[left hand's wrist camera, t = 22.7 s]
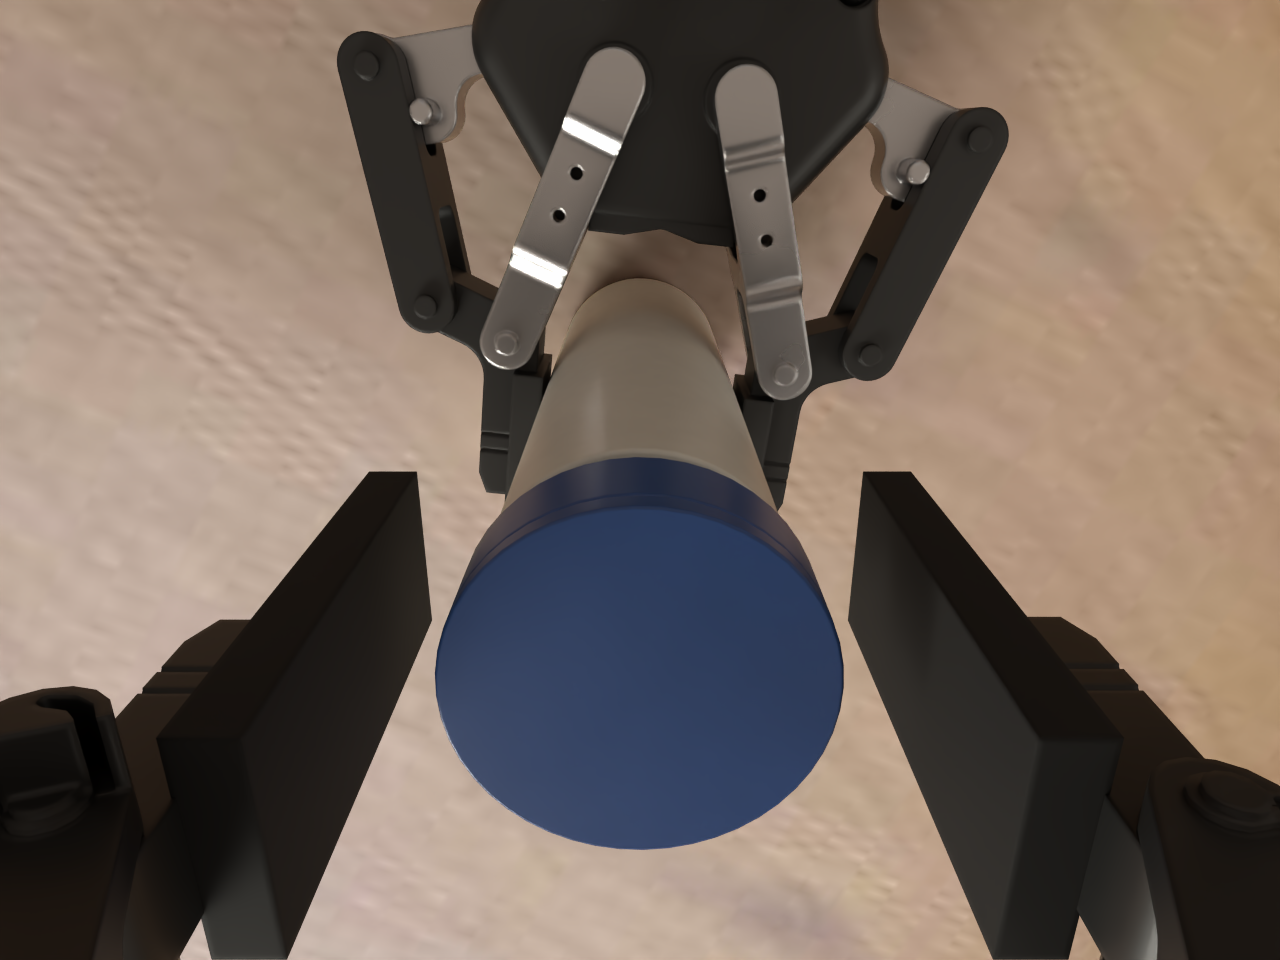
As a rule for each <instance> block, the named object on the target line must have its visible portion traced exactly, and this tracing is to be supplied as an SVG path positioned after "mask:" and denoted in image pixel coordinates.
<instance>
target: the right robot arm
mask: <svg viewBox="0 0 1280 960" xmlns="http://www.w3.org/2000/svg"><path fill="white" fill-rule="evenodd" d="M337 67H338V72H339V76H340V80H341V83H342V87H343V91H344V95H345V99H346V103H347V107H348V111H349V115H350V119H351V123H352V127H353V130H354V134H355V138H356V142H357V146H358V150H359V154H360V158H361V162H362V166H363V170H364V174H365V177H366V181H367V185H368V189H369V193H370V197H371V201H372V205H373V209H374V213H375V217H376V221H377V224H378V228H379V232H380V236H381V240H382V244H383V248H384V252H385V256H386V260H387V264H388V268H389V272H390V275H391V279H392V283H393V287H394V291H395V295H396V299H397V303H398V307H399V311H400V313H401V316H402V318H403V319H404V321H405V322H406V323H407V324H408V325H409V326H410V327H411V328H413V329H414V330H417V331H419V332H422V333H435V332H439V333H441V334H443V335H445V336H447V337H449V338H452V339H454V340H456V341H458V342H460V343H462V344H464V345H466V346H467V347H469V348H470V349H471V350H472V351H473V352H474V353H475V354H476V355H477V357H478V358H479V360H480V362H481V364H482V367H483V372H484V385H483V405H482V425H481V446H480V447H481V450H480V466H479V473H480V476H481V479H482V481H483V484H484V487H485V489H486V492H489V493H498V494H505V501H506V498H507V495H508V492H509V490H510V487H511V484H512V482H513V479H514V476H515V473H516V471H517V468H518V465H519V462H520V460H521V457H522V454H523V451H524V449H525V446H526V443H527V441H528V438H529V435H530V432H531V430H532V427H533V424H534V421H535V419H536V416H537V413H538V410H539V408H540V405H541V402H542V399H543V397H544V394H545V391H546V389H547V386H548V383H549V380H550V378H551V365H552V354H544V343H545V330H546V324H547V322H548V320H549V317H550V315H551V313H552V311H553V308H554V306H555V304H556V301H557V299H558V297H559V294H560V292H561V290H562V287H563V285H564V283H565V280H566V278H567V276H568V273H569V271H570V269H571V267H572V264H573V262H574V260H575V258H576V255H577V253H578V251H579V248H580V246H581V244H582V241H583V239H584V237H585V234H586V232H587V230H589V231H597V232H606V233H614V234H623V235H625V234H631V233H638V232H644V231H651V230H657V229H663V230H666V231H669V232H671V233H674V234H676V235H679V236H681V237H683V238H686V239H688V240H691V241H693V242H696V243H699V244H708V245H716V246H725V247H726V249H727V255H728V260H729V266H730V271H731V276H732V280H733V283H734V288H735V292H736V298H737V304H738V310H739V315H740V321H741V327H742V333H743V339H744V344H745V350H746V355H747V364H746V370H745V375H739V374H735V378H734V384H733V390H734V393H735V396H736V399H737V401H738V404H739V407H740V410H741V412H742V415H743V418H744V421H745V424H746V426H747V429H748V432H749V435H750V437H751V440H752V443H753V446H754V448H755V451H756V454H757V457H758V459H759V462H760V465H761V468H762V470H763V473H764V476H765V479H766V481H767V484H768V487H769V490H770V492H771V495H772V498H773V501H774V503H775V506H776V509H777V511H778V510H779V508H780V507H781V505H782V504H783V499H784V494H785V488H786V481H787V478H788V472H789V465H790V462H791V457H792V451H793V446H794V441H795V435H796V430H797V425H798V419H799V414H800V410H801V407H802V404H803V402H804V401H805V399H806V398H807V396H808V395H809V394H810V393H811V392H812V391H814V390H815V389H817V388H818V387H820V386H822V385H825V384H828V383H833V382H837V381H841V380H846V379H850V378H854V377H855V378H857V379H859V380H863V381H872V380H876V379H879V378H881V377H883V376H884V375H886V374H887V373H888V372H889V371H890V370H891V369H892V367H893V366H894V364H895V362H896V360H897V358H898V356H899V354H900V352H901V350H902V348H903V346H904V345H905V343H906V341H907V339H908V337H909V335H910V333H911V331H912V329H913V327H914V325H915V323H916V321H917V319H918V317H919V316H920V314H921V312H922V310H923V308H924V306H925V304H926V302H927V300H928V298H929V296H930V294H931V292H932V290H933V288H934V287H935V285H936V283H937V281H938V279H939V277H940V275H941V273H942V271H943V269H944V267H945V265H946V263H947V261H948V259H949V258H950V256H951V254H952V252H953V250H954V248H955V246H956V244H957V242H958V240H959V238H960V236H961V234H962V232H963V230H964V229H965V227H966V225H967V223H968V221H969V219H970V217H971V215H972V213H973V211H974V209H975V207H976V205H977V203H978V201H979V200H980V198H981V196H982V194H983V192H984V190H985V188H986V186H987V184H988V182H989V180H990V178H991V176H992V174H993V172H994V171H995V169H996V167H997V165H998V163H999V161H1000V159H1001V157H1002V155H1003V153H1004V151H1005V149H1006V147H1007V143H1008V137H1009V132H1008V126H1007V123H1006V121H1005V119H1004V118H1003V116H1002V115H1001V114H1000V113H999V112H997V111H996V110H994V109H991V108H987V107H977V108H964V109H957V108H954V107H952V106H950V105H948V104H945V103H943V102H941V101H939V100H937V99H934V98H932V97H930V96H928V95H926V94H923V93H921V92H919V91H917V90H915V89H913V88H910V87H908V86H906V85H904V84H902V83H899V82H897V81H895V80H893V79H891V78H888V76H889V67H888V59H887V55H886V51H885V48H884V45H883V42H882V38H881V34H880V29H879V20H878V0H481V1H480V3H479V5H478V7H477V10H476V12H475V15H474V19H473V24H472V25H467V26H461V27H455V28H450V29H444V30H438V31H432V32H427V33H421V34H415V35H409V36H404V37H398V38H391V37H388V36H385V35H383V34H378V33H373V32H369V31H360V32H356V33H353V34H351V35H350V36H348V37H347V38H346V39H345V40H344V41H343V43H342V44H341V46H340V48H339V51H338V55H337ZM481 78H485V80H486V82H487V84H488V85H489V87H490V89H491V91H492V92H493V94H494V96H495V98H496V99H497V101H498V103H499V105H500V106H501V108H502V110H503V112H504V113H505V115H506V117H507V119H508V120H509V122H510V124H511V126H512V127H513V129H514V131H515V132H516V134H517V136H518V138H519V139H520V141H521V143H522V145H523V146H524V148H525V150H526V152H527V153H528V155H529V157H530V159H531V160H532V162H533V164H534V166H535V167H536V169H537V171H538V173H539V174H540V176H541V180H540V183H539V185H538V188H537V190H536V193H535V195H534V198H533V200H532V202H531V205H530V207H529V210H528V212H527V215H526V217H525V220H524V222H523V225H522V227H521V230H520V232H519V235H518V237H517V240H516V242H515V245H514V248H513V250H512V254H511V258H510V262H509V264H508V267H507V270H506V272H505V274H504V277H503V279H502V282H501V284H500V287H499V288H497V287H495V286H493V285H491V284H489V283H487V282H485V281H483V280H481V279H479V278H477V277H475V276H473V275H471V271H470V266H469V262H468V257H467V253H466V248H465V244H464V239H463V235H462V230H461V226H460V221H459V217H458V212H457V208H456V203H455V199H454V194H453V190H452V185H451V181H450V176H449V172H448V167H447V163H446V158H445V154H444V149H443V144H442V143H445V142H448V141H451V140H453V139H454V138H455V137H457V135H458V134H459V133H460V132H461V130H462V128H463V126H464V122H465V98H466V95H467V92H468V90H469V89H470V87H471V86H472V85H473V84H474V83H475V82H476V81H478V80H479V79H481ZM864 126H865V127H866V128H867V129H868V130H869V131H870V133H871V135H872V137H873V139H874V144H875V153H874V158H873V161H872V164H871V169H870V176H871V181H872V183H873V185H874V187H875V189H876V190H877V191H878V192H879V193H881V194H882V195H884V198H883V200H882V203H881V205H880V207H879V209H878V211H877V213H876V215H875V217H874V219H873V221H872V223H871V226H870V228H869V230H868V232H867V234H866V236H865V238H864V240H863V242H862V244H861V246H860V249H859V251H858V253H857V255H856V257H855V259H854V261H853V263H852V265H851V267H850V269H849V272H848V274H847V276H846V278H845V280H844V282H843V284H842V286H841V288H840V290H839V292H838V295H837V297H836V299H835V301H834V303H833V305H832V307H831V309H830V311H829V313H828V315H827V316H826V317H822V318H818V319H813V320H809V321H805V318H804V311H803V304H802V288H803V283H802V273H801V266H800V259H799V252H798V245H797V238H796V231H795V224H794V217H793V210H792V203H793V202H794V201H795V200H796V199H797V198H798V197H799V195H800V194H801V193H802V192H803V191H804V190H805V189H806V188H807V187H808V186H809V185H810V184H811V183H812V182H813V181H814V179H815V178H816V177H817V176H818V175H819V174H820V173H821V172H822V171H823V170H824V169H825V168H826V167H827V166H828V164H829V163H830V162H831V161H832V160H833V159H834V158H835V157H836V156H837V155H838V154H839V153H840V152H841V151H842V150H843V148H844V147H845V146H846V145H847V144H848V143H849V142H850V141H851V140H852V139H853V138H854V137H855V136H856V135H857V134H858V132H859V131H860V130H861V129H862V128H863V127H864Z"/></svg>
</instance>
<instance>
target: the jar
mask: <svg viewBox="0 0 1280 960" xmlns="http://www.w3.org/2000/svg"><path fill="white" fill-rule="evenodd" d="M630 457H646V458H663V459H669V460H675V461H681V462H686V463H690V464H693V465H697V466H700V467H703V468H707V469H710V470H712V471H714V472H717V473H719V474H721V475H724V476H726V477H728V478H730V479H732V480H734V481H736V482H737V483H739V484H741V485H742V486H744V487H746V488H747V489H749V490H751V491H752V492H754V493H755V494H756V495H757V496H759V497H760V498H761V499H762V500H764V501H765V502H766V503H767V504H769V505H770V506H771V507H772V508H773V509H774V510H775V511H776V512H777V509H776V506H775V503H774V501H773V498H772V495H771V492H770V490H769V487H768V484H767V481H766V479H765V476H764V473H763V470H762V468H761V465H760V462H759V459H758V457H757V454H756V451H755V448H754V446H753V443H752V440H751V437H750V435H749V432H748V429H747V426H746V424H745V421H744V418H743V415H742V412H741V410H740V407H739V404H738V401H737V399H736V396H735V393H734V390H733V388H732V385H731V382H730V379H729V377H728V374H727V371H726V368H725V366H724V363H723V360H722V357H721V355H720V352H719V349H718V346H717V344H716V341H715V338H714V335H713V333H712V330H711V327H710V324H709V322H708V320H707V318H706V316H705V314H704V313H703V311H702V310H701V309H700V307H699V306H698V305H697V304H696V303H695V302H694V301H693V299H692V298H690V297H689V296H688V295H687V294H685V293H684V292H683V291H681V290H679V289H678V288H676V287H674V286H672V285H670V284H667V283H665V282H661V281H658V280H653V279H645V278H635V279H626V280H622V281H618V282H615V283H612V284H610V285H607V286H605V287H604V288H602V289H600V290H598V291H597V292H596V293H594V294H593V295H592V296H590V297H589V298H588V299H587V300H586V301H585V302H584V303H583V304H582V306H581V307H580V308H579V309H578V311H577V312H576V314H575V316H574V317H573V319H572V321H571V324H570V326H569V328H568V331H567V334H566V337H565V339H564V342H563V345H562V348H561V350H560V353H559V356H558V358H557V361H556V364H555V367H554V369H553V372H552V375H551V378H550V380H549V383H548V386H547V389H546V391H545V394H544V397H543V399H542V402H541V405H540V408H539V410H538V413H537V416H536V419H535V421H534V424H533V427H532V430H531V432H530V435H529V438H528V441H527V443H526V446H525V449H524V451H523V454H522V457H521V460H520V462H519V465H518V468H517V471H516V473H515V476H514V479H513V482H512V484H511V487H510V490H509V492H508V495H507V498H506V501H505V503H504V506H503V509H502V512H503V511H504V510H505V509H506V508H507V507H509V506H510V505H511V504H512V503H513V502H514V501H515V500H516V499H518V498H519V497H520V496H521V495H523V494H524V493H526V492H527V491H529V490H530V489H532V488H533V487H535V486H536V485H538V484H539V483H541V482H543V481H545V480H547V479H549V478H551V477H553V476H555V475H557V474H559V473H561V472H564V471H567V470H570V469H573V468H576V467H579V466H582V465H585V464H589V463H594V462H599V461H603V460H608V459H618V458H630ZM502 512H501V513H502ZM777 513H778V512H777ZM778 515H779V514H778Z"/></svg>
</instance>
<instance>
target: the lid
mask: <svg viewBox="0 0 1280 960" xmlns="http://www.w3.org/2000/svg"><path fill="white" fill-rule="evenodd" d="M435 683H436V697H437V702H438V707H439V711H440V716H441V720H442V722H443V725H444V728H445V730H446V733H447V736H448V738H449V741H450V742H451V744H452V746H453V748H454V750H455V752H456V753H457V755H458V757H459V759H460V760H461V762H462V763H463V765H464V766H465V767H466V769H467V770H468V771H469V773H470V774H471V775H472V777H473V778H474V779H475V780H476V781H477V782H478V783H479V784H480V785H481V786H482V787H483V788H484V789H485V790H486V791H487V792H488V793H489V795H491V796H492V797H493V798H494V799H496V800H497V801H498V802H499V803H501V804H502V805H503V806H504V807H506V808H507V809H508V810H510V811H511V812H513V813H515V814H516V815H518V816H519V817H521V818H523V819H524V820H526V821H527V822H529V823H531V824H533V825H536V826H538V827H540V828H542V829H544V830H546V831H548V832H550V833H553V834H556V835H559V836H562V837H565V838H567V839H570V840H574V841H578V842H582V843H586V844H590V845H594V846H601V847H609V848H616V849H637V850H647V849H662V848H672V847H677V846H683V845H689V844H694V843H697V842H701V841H705V840H708V839H712V838H715V837H718V836H720V835H723V834H725V833H728V832H730V831H733V830H735V829H738V828H740V827H742V826H744V825H745V824H747V823H749V822H751V821H753V820H755V819H757V818H759V817H760V816H762V815H763V814H765V813H766V812H767V811H769V810H770V809H772V808H773V807H775V806H776V805H778V804H779V803H780V802H781V801H782V800H783V799H785V798H786V797H787V796H788V795H789V794H790V793H791V792H792V791H794V790H795V789H796V788H797V787H798V785H799V784H800V783H801V782H802V781H803V780H804V779H805V777H806V776H807V775H808V774H809V773H810V772H811V770H812V769H813V767H814V766H815V764H816V763H817V761H818V760H819V758H820V757H821V755H822V754H823V752H824V750H825V748H826V746H827V744H828V742H829V740H830V738H831V736H832V734H833V731H834V728H835V725H836V722H837V718H838V715H839V712H840V708H841V701H842V695H843V688H844V665H843V659H842V652H841V646H840V641H839V638H838V635H837V632H836V629H835V626H834V623H833V620H832V617H831V615H830V612H829V610H828V607H827V605H826V602H825V600H824V597H823V594H822V592H821V589H820V587H819V584H818V582H817V579H816V577H815V574H814V572H813V569H812V567H811V564H810V562H809V559H808V557H807V555H806V553H805V551H804V549H803V547H802V546H801V544H800V542H799V540H798V539H797V537H796V536H795V534H794V533H793V532H792V530H791V529H790V527H789V526H788V524H787V523H786V522H785V521H784V520H783V519H782V518H781V517H780V516H779V515H778V513H777V512H776V511H775V510H774V509H773V508H772V507H771V506H770V505H769V504H767V503H766V502H765V501H764V500H762V499H761V498H760V497H759V496H757V495H756V494H755V493H754V492H752V491H751V490H749V489H747V488H746V487H744V486H742V485H741V484H739V483H737V482H736V481H734V480H732V479H730V478H728V477H726V476H724V475H721V474H719V473H717V472H714V471H712V470H710V469H707V468H703V467H700V466H697V465H693V464H690V463H686V462H681V461H675V460H669V459H663V458H646V457H630V458H618V459H608V460H603V461H599V462H594V463H589V464H585V465H582V466H579V467H576V468H573V469H570V470H567V471H564V472H561V473H559V474H557V475H555V476H553V477H551V478H549V479H547V480H545V481H543V482H541V483H539V484H538V485H536V486H535V487H533V488H532V489H530V490H529V491H527V492H526V493H524V494H523V495H521V496H520V497H519V498H518V499H516V500H515V501H514V502H513V503H512V504H511V505H510V506H509V507H507V508H506V509H505V510H504V511H503V512H502V513H501V514H500V515H499V517H498V518H497V519H496V520H495V521H494V522H493V524H492V525H491V526H490V527H489V528H488V530H487V531H486V533H485V534H484V536H483V538H482V539H481V541H480V542H479V544H478V545H477V547H476V549H475V551H474V553H473V556H472V558H471V560H470V563H469V565H468V567H467V570H466V572H465V575H464V577H463V580H462V582H461V585H460V587H459V590H458V592H457V595H456V597H455V600H454V602H453V605H452V607H451V610H450V612H449V615H448V617H447V620H446V622H445V625H444V628H443V631H442V635H441V639H440V642H439V646H438V650H437V659H436V668H435Z"/></svg>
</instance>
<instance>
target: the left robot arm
mask: <svg viewBox="0 0 1280 960" xmlns="http://www.w3.org/2000/svg"><path fill="white" fill-rule="evenodd" d="M431 621H432V616H431V606H430V596H429V586H428V577H427V567H426V557H425V547H424V537H423V528H422V518H421V508H420V498H419V489H418V479H417V472H369V473H368V474H367V475H366V476H365V478H364V479H363V480H362V481H361V483H360V484H359V485H358V486H357V487H356V489H355V490H354V491H353V492H352V494H351V495H350V496H349V497H348V499H347V500H346V501H345V502H344V504H343V505H342V506H341V507H340V509H339V510H338V511H337V512H336V514H335V515H334V516H333V517H332V519H331V520H330V521H329V522H328V524H327V525H326V526H325V527H324V529H323V530H322V531H321V532H320V534H319V535H318V536H317V537H316V539H315V540H314V541H313V542H312V544H311V545H310V546H309V547H308V549H307V550H306V551H305V552H304V554H303V555H302V556H301V557H300V559H299V560H298V561H297V562H296V564H295V565H294V566H293V567H292V569H291V570H290V571H289V572H288V574H287V575H286V576H285V577H284V579H283V580H282V581H281V582H280V584H279V585H278V586H277V587H276V589H275V590H274V591H273V592H272V594H271V595H270V596H269V597H268V599H267V600H266V601H265V602H264V604H263V605H262V606H261V607H260V609H259V610H258V611H257V612H256V613H255V615H254V616H253V617H252V618H251V620H219V621H217V622H216V623H214V624H212V625H211V626H209V627H207V628H206V629H204V630H202V631H201V632H199V633H198V634H196V635H194V636H193V637H191V638H189V639H188V640H186V641H185V642H184V643H183V644H182V645H181V646H180V647H179V648H178V649H177V650H176V652H175V653H174V654H173V655H172V656H171V657H170V658H169V659H168V660H167V662H166V663H165V664H164V665H163V666H162V670H161V672H157V673H156V674H155V675H154V676H153V677H152V678H151V679H150V680H149V682H148V683H147V684H146V685H145V686H144V687H143V691H142V694H137V695H136V696H135V697H134V698H133V699H132V701H131V702H130V703H129V704H128V705H127V706H126V707H125V708H124V709H123V711H122V712H121V713H120V714H119V715H118V716H117V717H116V718H115V716H114V713H113V709H112V705H111V701H110V699H109V698H107V697H106V696H104V695H103V694H102V693H100V692H99V691H97V690H94V689H88V688H82V687H75V686H70V687H59V688H48V689H41V690H37V691H33V692H30V693H26V694H22V695H18V696H14V697H11V698H8V699H6V700H3V701H1V702H0V960H180V955H181V953H182V952H183V950H184V948H185V946H186V944H187V943H188V941H189V939H190V937H191V935H192V934H193V932H194V930H195V928H196V926H197V925H198V923H199V921H200V919H202V923H203V927H204V931H205V935H206V939H207V943H208V947H209V951H210V955H211V959H212V960H287V958H288V956H289V954H290V951H291V949H292V947H293V944H294V942H295V939H296V937H297V935H298V932H299V930H300V928H301V925H302V923H303V921H304V918H305V916H306V914H307V911H308V909H309V907H310V904H311V902H312V900H313V897H314V895H315V893H316V890H317V888H318V886H319V883H320V881H321V879H322V876H323V874H324V872H325V869H326V867H327V865H328V862H329V860H330V858H331V855H332V853H333V851H334V848H335V846H336V844H337V841H338V839H339V837H340V834H341V832H342V830H343V827H344V825H345V823H346V820H347V818H348V816H349V813H350V811H351V809H352V806H353V804H354V802H355V799H356V797H357V794H358V792H359V790H360V787H361V785H362V783H363V780H364V778H365V776H366V773H367V771H368V769H369V766H370V764H371V762H372V759H373V757H374V755H375V752H376V750H377V748H378V745H379V743H380V741H381V738H382V736H383V734H384V731H385V729H386V727H387V724H388V722H389V720H390V717H391V715H392V713H393V710H394V708H395V706H396V703H397V701H398V699H399V696H400V694H401V692H402V689H403V687H404V685H405V682H406V680H407V678H408V675H409V673H410V671H411V668H412V666H413V664H414V661H415V659H416V657H417V654H418V652H419V649H420V647H421V645H422V642H423V640H424V638H425V635H426V633H427V631H428V628H429V626H430V624H431ZM848 621H849V624H850V626H851V628H852V631H853V633H854V635H855V638H856V640H857V642H858V645H859V647H860V649H861V652H862V654H863V657H864V659H865V661H866V664H867V666H868V668H869V671H870V673H871V675H872V678H873V680H874V682H875V685H876V687H877V689H878V692H879V694H880V696H881V699H882V701H883V703H884V706H885V708H886V710H887V713H888V715H889V717H890V720H891V722H892V724H893V727H894V729H895V731H896V734H897V736H898V738H899V741H900V743H901V745H902V748H903V750H904V752H905V755H906V757H907V759H908V762H909V764H910V766H911V769H912V771H913V773H914V776H915V778H916V780H917V783H918V785H919V787H920V790H921V792H922V794H923V797H924V799H925V802H926V804H927V806H928V809H929V811H930V813H931V816H932V818H933V820H934V823H935V825H936V827H937V830H938V832H939V834H940V837H941V839H942V841H943V844H944V846H945V848H946V851H947V853H948V855H949V858H950V860H951V862H952V865H953V867H954V869H955V872H956V874H957V876H958V879H959V881H960V883H961V886H962V888H963V890H964V893H965V895H966V897H967V900H968V902H969V904H970V907H971V909H972V911H973V914H974V916H975V918H976V921H977V923H978V925H979V928H980V930H981V932H982V935H983V937H984V939H985V942H986V944H987V947H988V949H989V951H990V954H991V956H992V958H993V960H1068V959H1069V955H1070V951H1071V947H1072V943H1073V939H1074V935H1075V931H1076V927H1077V923H1078V919H1079V915H1080V917H1081V918H1082V920H1083V922H1084V924H1085V926H1086V927H1087V929H1088V931H1089V933H1090V934H1091V936H1092V938H1093V940H1094V942H1095V943H1096V945H1097V947H1098V949H1099V950H1100V952H1101V956H1100V960H1280V786H1279V785H1277V784H1275V783H1273V782H1271V781H1269V780H1267V779H1265V778H1263V777H1261V776H1259V775H1257V774H1255V773H1253V772H1251V771H1249V770H1247V769H1244V768H1241V767H1237V766H1234V765H1231V764H1228V763H1224V762H1221V761H1218V760H1212V759H1205V758H1204V757H1203V756H1202V755H1201V754H1200V753H1199V752H1198V751H1197V750H1196V749H1195V747H1194V746H1193V745H1192V744H1191V743H1190V742H1189V741H1188V740H1187V739H1186V737H1185V736H1184V735H1183V734H1182V733H1181V732H1180V731H1179V730H1178V729H1177V728H1176V726H1175V725H1174V724H1173V723H1172V722H1171V721H1170V720H1169V719H1168V718H1167V716H1166V715H1165V714H1164V713H1163V712H1162V711H1161V710H1160V709H1159V708H1158V706H1157V705H1156V704H1155V703H1154V702H1153V701H1152V700H1151V699H1150V698H1149V697H1148V695H1147V694H1146V693H1145V692H1144V691H1139V689H1138V684H1137V683H1136V682H1135V681H1134V680H1133V679H1132V678H1131V677H1130V676H1129V674H1128V673H1127V672H1126V671H1125V670H1124V669H1119V663H1118V662H1117V661H1116V660H1115V659H1114V658H1113V657H1112V656H1111V654H1110V653H1109V652H1108V651H1107V650H1106V649H1105V648H1104V647H1103V646H1102V645H1101V643H1100V642H1099V641H1098V640H1097V639H1096V638H1094V637H1093V636H1091V635H1089V634H1088V633H1086V632H1084V631H1083V630H1081V629H1080V628H1078V627H1076V626H1075V625H1073V624H1071V623H1070V622H1068V621H1066V620H1065V619H1063V618H1061V617H1027V616H1026V615H1025V614H1024V612H1023V611H1022V610H1021V609H1020V607H1019V606H1018V605H1017V604H1016V602H1015V601H1014V600H1013V599H1012V597H1011V596H1010V595H1009V594H1008V592H1007V591H1006V590H1005V589H1004V587H1003V586H1002V585H1001V584H1000V582H999V581H998V580H997V579H996V577H995V576H994V575H993V574H992V572H991V571H990V570H989V569H988V567H987V566H986V565H985V564H984V562H983V561H982V560H981V559H980V557H979V556H978V555H977V554H976V552H975V551H974V550H973V549H972V547H971V546H970V545H969V544H968V542H967V541H966V540H965V539H964V537H963V536H962V535H961V534H960V532H959V531H958V530H957V529H956V527H955V526H954V525H953V524H952V522H951V521H950V520H949V519H948V517H947V516H946V515H945V514H944V512H943V511H942V510H941V509H940V507H939V506H938V505H937V504H936V502H935V501H934V500H933V499H932V497H931V496H930V495H929V494H928V492H927V491H926V490H925V489H924V487H923V486H922V485H921V484H920V483H919V481H918V480H917V479H916V478H915V476H914V475H913V474H912V473H911V472H863V479H862V489H861V498H860V508H859V518H858V528H857V537H856V547H855V557H854V567H853V577H852V586H851V596H850V606H849V616H848Z"/></svg>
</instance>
